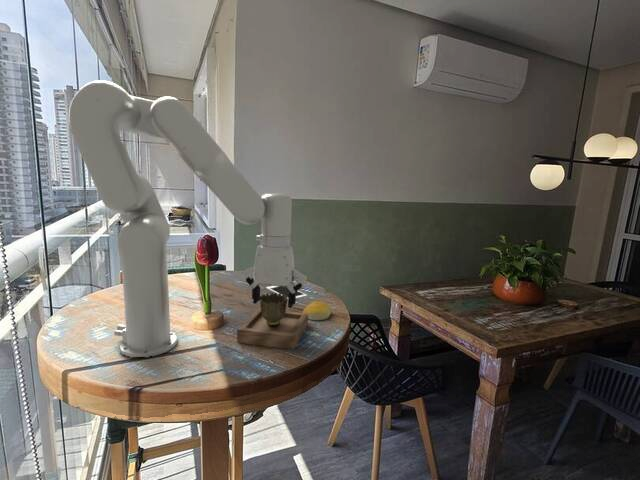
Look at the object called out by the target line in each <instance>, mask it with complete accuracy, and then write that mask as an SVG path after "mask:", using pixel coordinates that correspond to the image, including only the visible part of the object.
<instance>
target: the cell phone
mask: <svg viewBox="0 0 640 480" xmlns="http://www.w3.org/2000/svg"><path fill="white" fill-rule="evenodd" d="M266 289H267V290H270V291H271V292H272V293H273V292H274V293H277V295H278V294H279V293H280V294H281V295H283V294H285V295H286V296H287V300H288V295H289V293H290V291H289V289H288V288H287V287H280V286H271V285H269V286H266ZM304 297H308V294H306V293H303V292H302V291H300V290H298V291H296V299H300V298H304Z"/></svg>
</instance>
